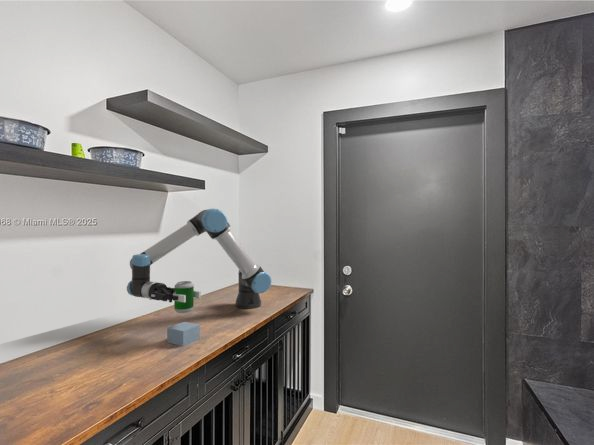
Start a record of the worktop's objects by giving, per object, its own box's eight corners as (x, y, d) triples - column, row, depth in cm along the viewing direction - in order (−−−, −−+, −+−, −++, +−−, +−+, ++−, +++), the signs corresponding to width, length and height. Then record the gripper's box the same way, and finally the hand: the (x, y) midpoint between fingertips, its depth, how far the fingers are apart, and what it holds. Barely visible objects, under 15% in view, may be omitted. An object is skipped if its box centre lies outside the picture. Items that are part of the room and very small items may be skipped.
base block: (184, 335, 137) (184, 321, 137) (199, 338, 133) (199, 324, 133) (167, 342, 129) (167, 327, 129) (183, 346, 125) (183, 331, 125)
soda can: (197, 309, 135) (197, 281, 135) (186, 314, 127) (186, 284, 127) (181, 308, 137) (182, 280, 137) (170, 312, 130) (170, 283, 130)
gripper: (173, 294, 149) (210, 300, 139) (134, 304, 131) (172, 312, 121) (173, 279, 149) (210, 283, 139) (134, 286, 131) (172, 292, 121)
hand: (192, 296), depth 130 cm, fingers closed on soda can, 7 cm apart
